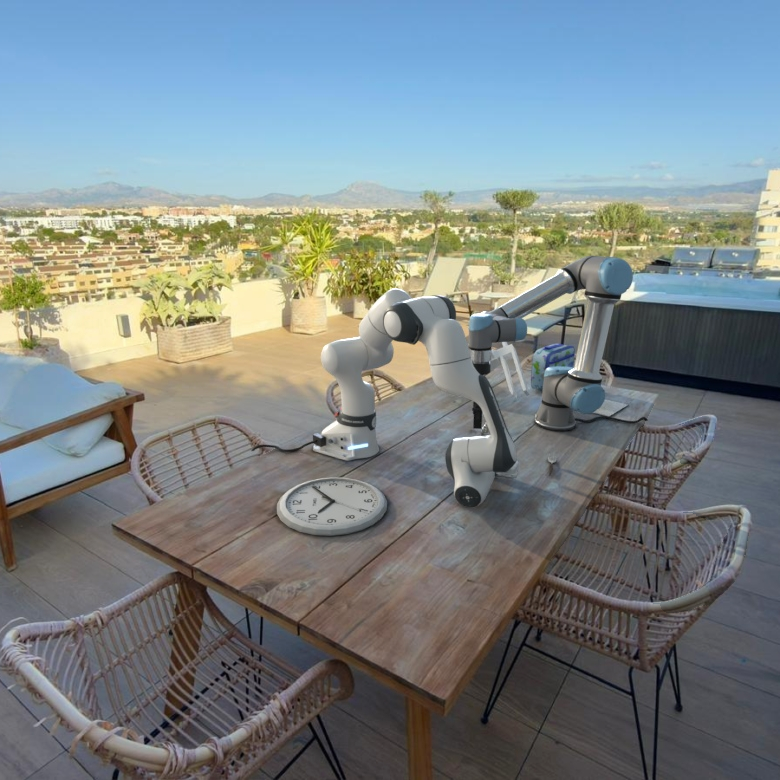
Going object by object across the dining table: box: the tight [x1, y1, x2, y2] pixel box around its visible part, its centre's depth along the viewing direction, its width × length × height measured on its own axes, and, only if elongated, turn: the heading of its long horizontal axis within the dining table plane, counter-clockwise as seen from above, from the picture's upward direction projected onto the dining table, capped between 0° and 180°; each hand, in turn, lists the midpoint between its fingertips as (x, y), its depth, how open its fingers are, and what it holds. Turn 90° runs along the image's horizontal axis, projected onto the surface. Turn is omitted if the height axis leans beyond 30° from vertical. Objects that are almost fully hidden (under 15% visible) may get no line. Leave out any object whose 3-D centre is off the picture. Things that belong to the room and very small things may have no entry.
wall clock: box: [276, 476, 388, 537], centre depth 142 cm, size 30×2×30 cm
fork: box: [547, 451, 558, 477], centre depth 168 cm, size 3×16×2 cm, turn 160°
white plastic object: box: [468, 342, 531, 400], centre depth 245 cm, size 37×45×31 cm
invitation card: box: [592, 398, 629, 417], centre depth 226 cm, size 21×1×15 cm
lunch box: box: [530, 343, 576, 391], centre depth 249 cm, size 26×11×21 cm, turn 134°
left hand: (488, 453), depth 163 cm, fingers closed on bottle, 5 cm apart
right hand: (477, 421), depth 180 cm, fingers open, 13 cm apart
